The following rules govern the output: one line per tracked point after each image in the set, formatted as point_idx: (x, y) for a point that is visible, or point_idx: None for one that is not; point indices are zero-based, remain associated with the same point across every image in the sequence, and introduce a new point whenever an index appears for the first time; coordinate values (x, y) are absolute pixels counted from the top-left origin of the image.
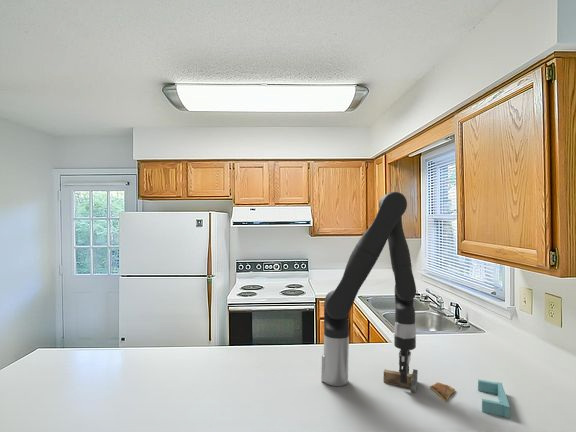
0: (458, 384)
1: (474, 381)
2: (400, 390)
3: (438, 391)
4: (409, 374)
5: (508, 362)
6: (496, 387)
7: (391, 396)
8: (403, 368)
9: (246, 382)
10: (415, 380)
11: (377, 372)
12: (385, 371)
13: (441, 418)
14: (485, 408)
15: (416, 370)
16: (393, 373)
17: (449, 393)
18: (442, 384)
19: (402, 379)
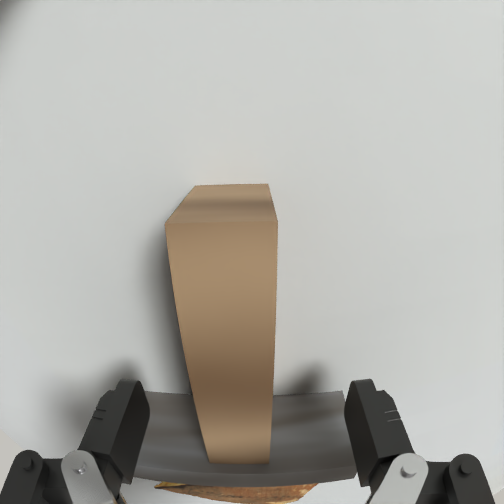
0: (355, 492)
1: None
2: (125, 338)
3: None
4: (255, 452)
5: (497, 482)
6: None
7: (14, 288)
8: (362, 418)
9: None
10: (134, 476)
11: (419, 93)
12: (190, 247)
13: (36, 442)
14: None
15: (340, 477)
16: (185, 351)
17: (220, 499)
18: (300, 491)
19: (98, 416)
